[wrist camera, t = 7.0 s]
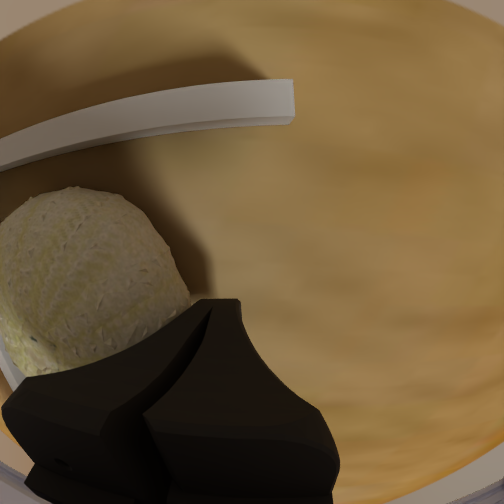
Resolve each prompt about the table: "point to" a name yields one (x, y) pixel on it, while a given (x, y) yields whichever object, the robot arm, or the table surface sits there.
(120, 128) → the grey u-shaped bracket
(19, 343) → the sea urchin shell
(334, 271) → the table surface
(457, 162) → the table surface
